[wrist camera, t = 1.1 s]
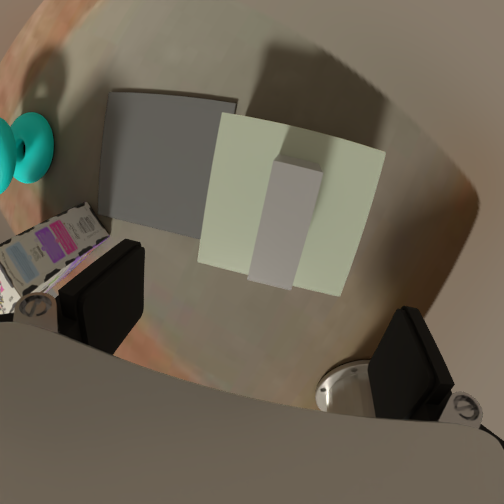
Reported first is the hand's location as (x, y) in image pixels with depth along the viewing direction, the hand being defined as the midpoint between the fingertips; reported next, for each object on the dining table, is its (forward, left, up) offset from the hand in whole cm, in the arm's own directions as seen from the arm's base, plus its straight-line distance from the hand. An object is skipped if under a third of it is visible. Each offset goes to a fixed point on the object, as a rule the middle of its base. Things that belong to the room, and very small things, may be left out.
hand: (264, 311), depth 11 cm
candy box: (+27, +13, -23) cm, 37 cm away
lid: (0, 0, -16) cm, 16 cm away
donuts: (+35, 0, -23) cm, 41 cm away
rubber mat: (+14, 0, -22) cm, 26 cm away
